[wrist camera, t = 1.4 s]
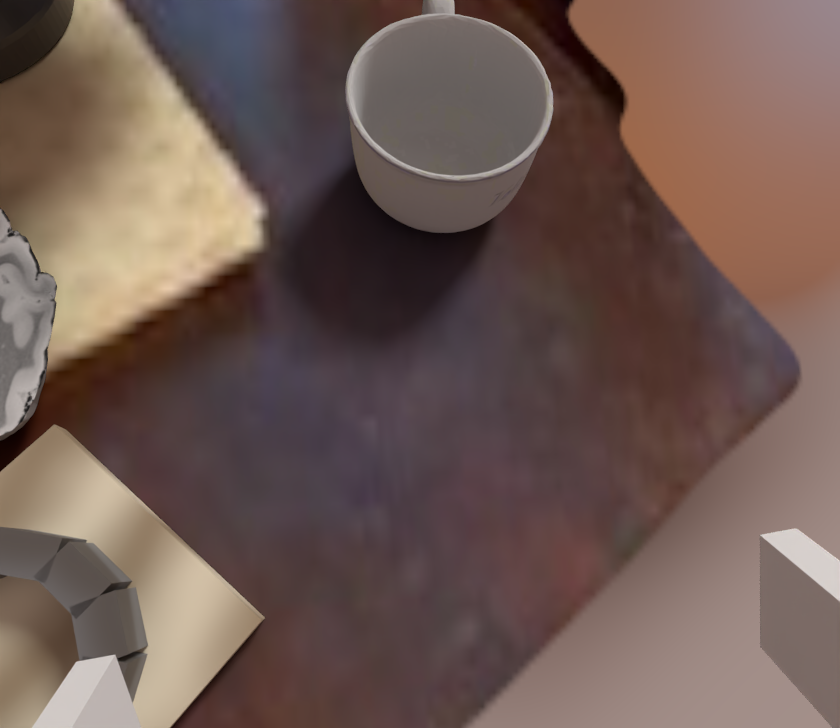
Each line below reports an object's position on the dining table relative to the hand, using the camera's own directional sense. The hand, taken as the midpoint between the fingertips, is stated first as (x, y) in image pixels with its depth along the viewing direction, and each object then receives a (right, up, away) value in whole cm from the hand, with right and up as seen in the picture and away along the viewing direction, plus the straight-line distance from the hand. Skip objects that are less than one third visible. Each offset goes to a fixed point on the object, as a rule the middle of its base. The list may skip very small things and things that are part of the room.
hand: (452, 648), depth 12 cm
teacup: (0, +19, +26) cm, 32 cm away
